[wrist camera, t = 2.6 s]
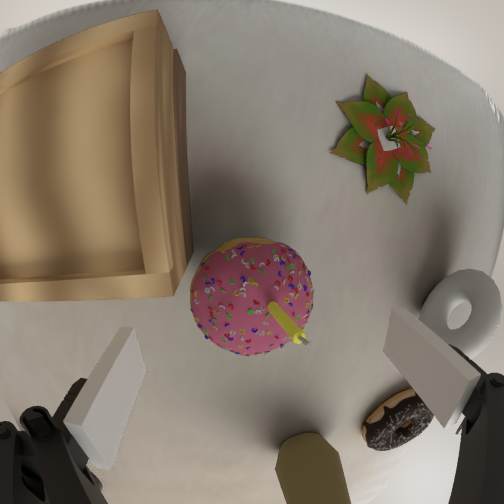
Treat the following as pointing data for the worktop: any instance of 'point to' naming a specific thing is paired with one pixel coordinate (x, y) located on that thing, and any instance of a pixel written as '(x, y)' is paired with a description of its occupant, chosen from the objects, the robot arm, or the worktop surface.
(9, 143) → the tower top
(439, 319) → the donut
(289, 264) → the cupcake
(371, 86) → the lily flower
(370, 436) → the donut
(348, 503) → the squeeze bottle
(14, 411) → the worktop surface
